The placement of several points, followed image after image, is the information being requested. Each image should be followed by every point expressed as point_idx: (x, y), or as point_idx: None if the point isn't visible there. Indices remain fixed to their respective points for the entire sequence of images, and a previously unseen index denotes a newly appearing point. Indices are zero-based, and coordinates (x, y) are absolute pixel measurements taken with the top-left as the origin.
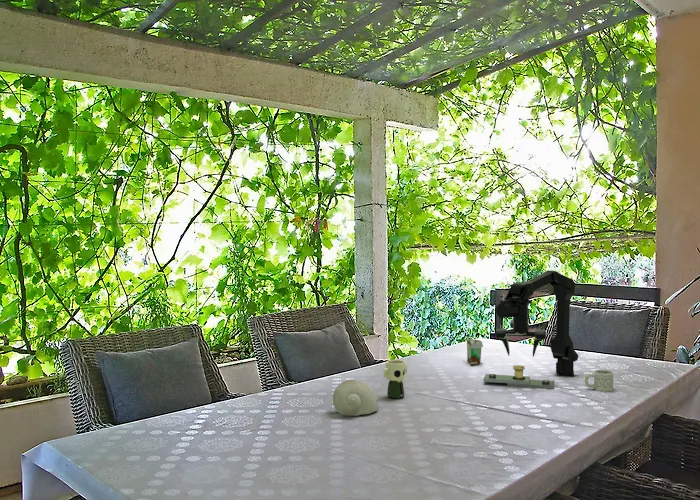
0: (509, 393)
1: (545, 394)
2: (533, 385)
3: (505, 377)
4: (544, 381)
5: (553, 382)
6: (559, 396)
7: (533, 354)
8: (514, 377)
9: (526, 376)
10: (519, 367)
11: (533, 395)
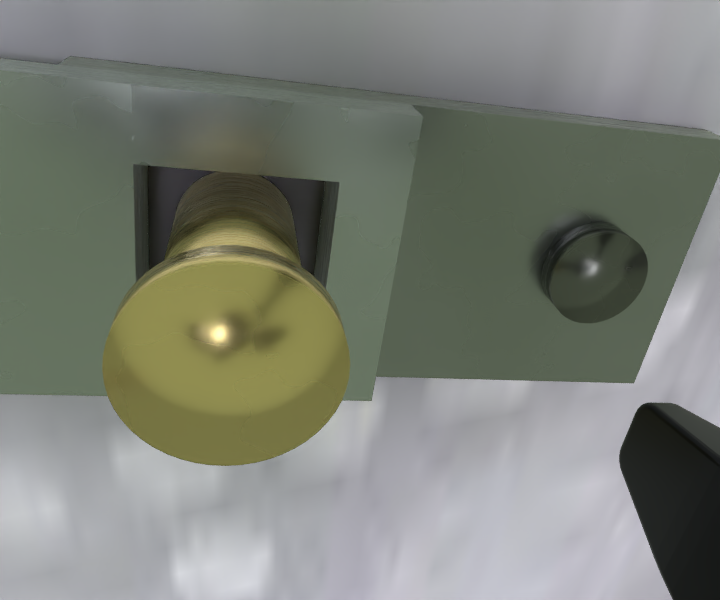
0: (152, 587)
1: (484, 540)
2: (415, 371)
3: (8, 251)
4: (574, 312)
5: (690, 224)
6: (584, 563)
7: (661, 526)
8: (157, 160)
9: (362, 117)
10: (246, 446)
11: (374, 588)
